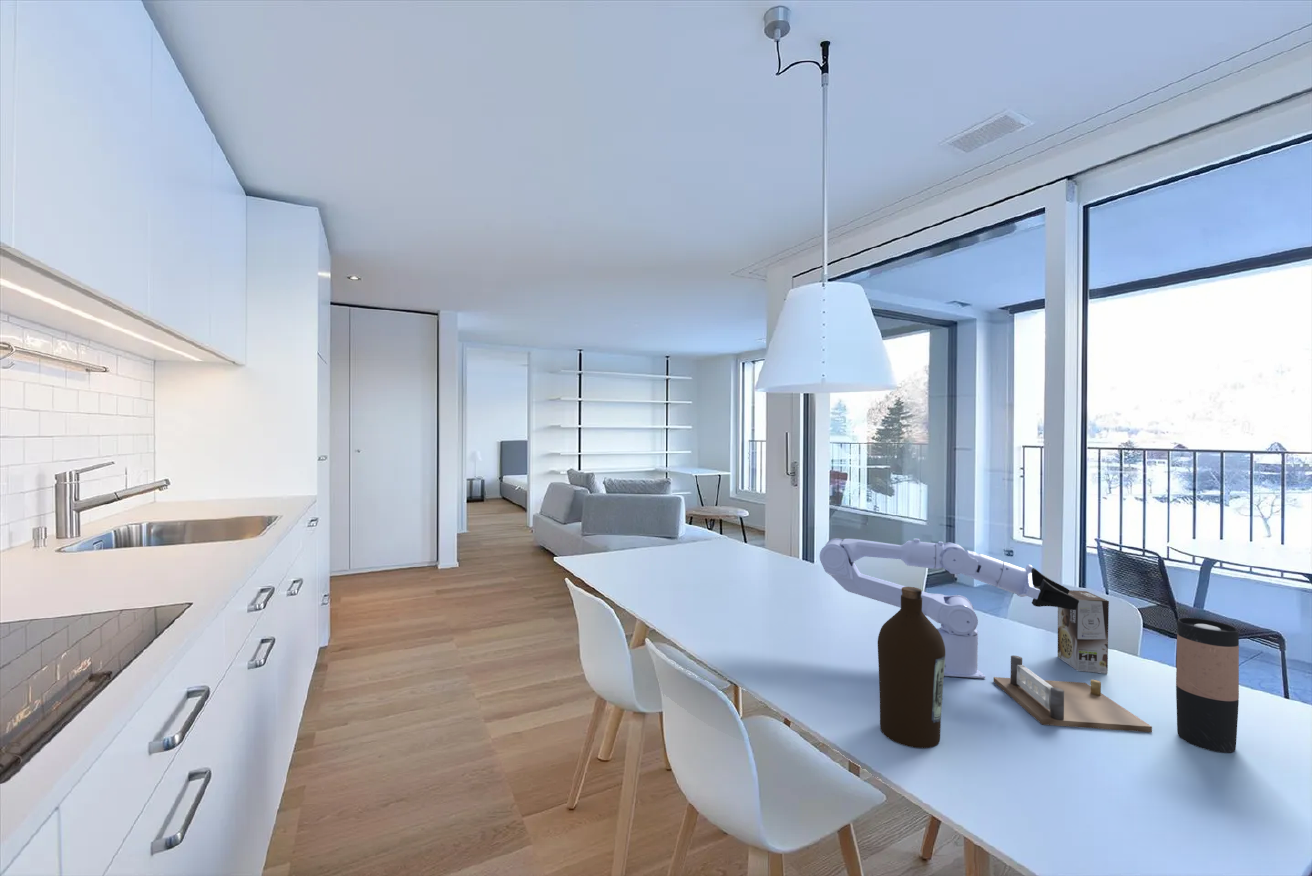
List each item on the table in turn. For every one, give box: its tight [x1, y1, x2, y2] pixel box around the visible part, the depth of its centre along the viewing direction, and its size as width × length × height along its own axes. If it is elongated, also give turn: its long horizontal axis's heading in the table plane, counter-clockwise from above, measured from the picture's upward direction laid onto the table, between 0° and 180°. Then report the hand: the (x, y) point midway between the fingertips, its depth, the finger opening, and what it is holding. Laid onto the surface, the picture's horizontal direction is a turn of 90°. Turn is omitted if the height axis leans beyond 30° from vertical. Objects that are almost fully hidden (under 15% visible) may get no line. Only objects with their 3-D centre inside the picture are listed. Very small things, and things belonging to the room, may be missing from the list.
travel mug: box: [1175, 617, 1240, 754], centre depth 96 cm, size 8×8×20 cm
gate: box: [1017, 664, 1052, 710], centre depth 108 cm, size 11×1×4 cm, turn 173°
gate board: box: [993, 655, 1153, 733], centre depth 108 cm, size 18×18×6 cm
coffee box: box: [1057, 589, 1110, 675], centre depth 128 cm, size 9×6×16 cm
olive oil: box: [877, 586, 945, 749], centre depth 96 cm, size 11×11×25 cm
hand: (1072, 599), depth 115 cm, fingers open, 7 cm apart
